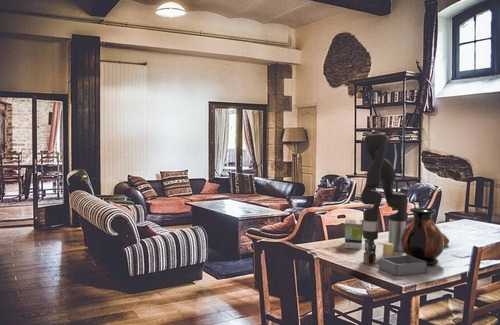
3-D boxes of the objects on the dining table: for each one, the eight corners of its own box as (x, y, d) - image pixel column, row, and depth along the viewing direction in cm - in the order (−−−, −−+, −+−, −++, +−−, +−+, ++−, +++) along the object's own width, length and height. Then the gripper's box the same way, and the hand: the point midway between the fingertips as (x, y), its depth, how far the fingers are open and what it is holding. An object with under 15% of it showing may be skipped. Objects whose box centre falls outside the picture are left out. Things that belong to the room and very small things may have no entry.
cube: (363, 261, 244) (363, 252, 244) (373, 261, 244) (373, 252, 244) (365, 264, 239) (366, 254, 239) (375, 264, 239) (375, 254, 239)
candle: (388, 261, 245) (389, 242, 245) (394, 263, 241) (395, 244, 240) (380, 262, 244) (381, 243, 243) (386, 264, 239) (387, 245, 238)
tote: (408, 265, 237) (408, 255, 237) (426, 273, 224) (427, 261, 224) (379, 268, 231) (379, 257, 231) (396, 276, 219) (396, 264, 218)
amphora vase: (408, 254, 260) (410, 204, 258) (449, 261, 246) (451, 209, 244) (393, 262, 243) (394, 209, 242) (435, 270, 229) (437, 214, 228)
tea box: (362, 249, 272) (362, 224, 271) (344, 248, 274) (345, 223, 273) (361, 243, 286) (362, 219, 286) (344, 242, 288) (345, 218, 288)
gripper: (381, 232, 234) (380, 265, 235) (374, 226, 248) (373, 258, 249) (366, 232, 234) (365, 265, 235) (359, 226, 248) (359, 258, 249)
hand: (369, 261), depth 242 cm, fingers closed on cube, 5 cm apart
